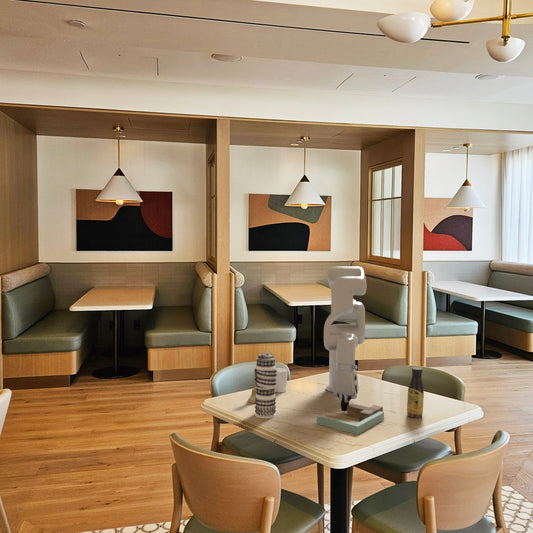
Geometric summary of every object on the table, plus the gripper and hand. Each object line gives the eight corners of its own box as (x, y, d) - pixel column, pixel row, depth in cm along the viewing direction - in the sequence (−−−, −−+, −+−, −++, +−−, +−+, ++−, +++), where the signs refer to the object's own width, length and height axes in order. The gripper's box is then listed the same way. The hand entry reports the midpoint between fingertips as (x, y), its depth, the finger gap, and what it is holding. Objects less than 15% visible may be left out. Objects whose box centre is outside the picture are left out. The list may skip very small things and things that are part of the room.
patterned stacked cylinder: (253, 418, 210) (254, 356, 208) (254, 411, 219) (254, 351, 218) (276, 418, 210) (277, 356, 209) (276, 411, 219) (276, 352, 218)
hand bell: (263, 397, 239) (263, 362, 238) (268, 402, 231) (268, 366, 230) (245, 398, 237) (245, 363, 236) (250, 404, 229) (250, 367, 228)
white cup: (287, 393, 246) (287, 372, 245) (270, 393, 246) (270, 371, 246) (287, 388, 254) (287, 368, 253) (270, 388, 254) (271, 367, 253)
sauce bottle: (403, 415, 215) (404, 367, 214) (413, 412, 219) (414, 365, 218) (417, 419, 210) (418, 370, 209) (426, 416, 214) (427, 368, 213)
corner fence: (344, 410, 221) (344, 403, 221) (383, 419, 210) (384, 412, 210) (316, 423, 204) (316, 416, 204) (358, 434, 193) (358, 426, 193)
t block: (356, 410, 221) (356, 401, 221) (382, 416, 213) (382, 406, 213) (341, 417, 212) (341, 407, 211) (368, 424, 204) (368, 414, 204)
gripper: (365, 367, 215) (365, 412, 216) (334, 362, 224) (333, 404, 225) (357, 371, 209) (356, 416, 210) (325, 365, 218) (324, 409, 219)
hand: (344, 410), depth 218 cm, fingers closed
